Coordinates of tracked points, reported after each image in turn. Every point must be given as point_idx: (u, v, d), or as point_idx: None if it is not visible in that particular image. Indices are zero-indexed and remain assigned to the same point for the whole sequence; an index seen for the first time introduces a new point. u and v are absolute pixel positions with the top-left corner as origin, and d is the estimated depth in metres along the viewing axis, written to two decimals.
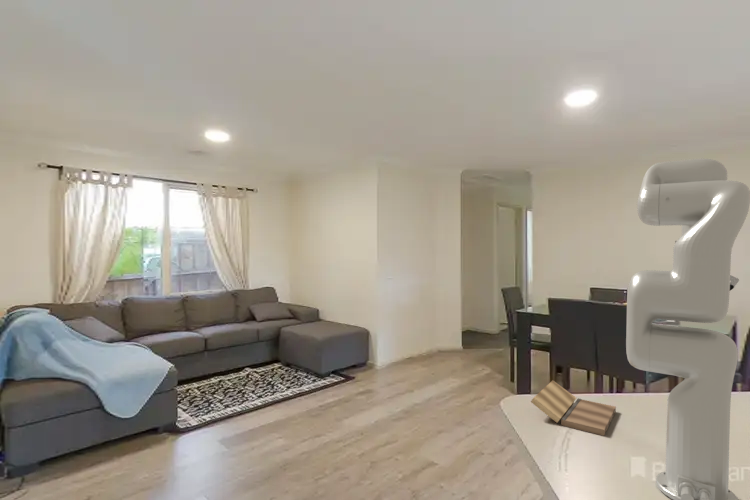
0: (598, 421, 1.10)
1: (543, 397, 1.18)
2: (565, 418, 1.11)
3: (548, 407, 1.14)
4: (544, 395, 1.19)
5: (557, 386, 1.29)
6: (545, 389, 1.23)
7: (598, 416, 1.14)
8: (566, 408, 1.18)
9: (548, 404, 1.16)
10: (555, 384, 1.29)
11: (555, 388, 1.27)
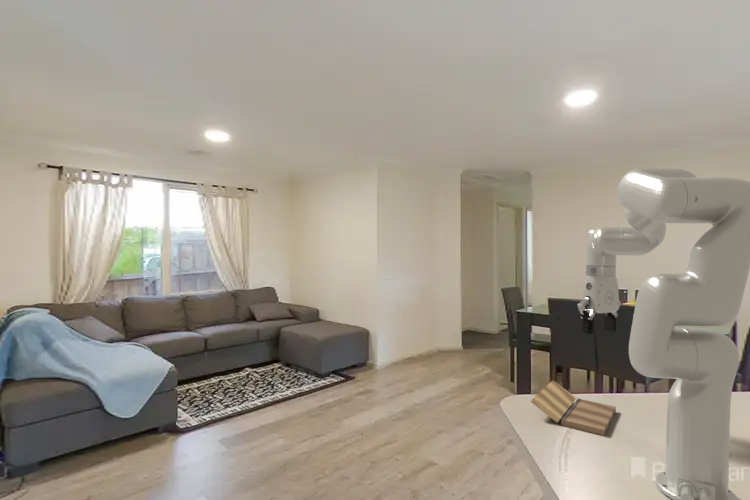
0: (598, 421, 1.10)
1: (543, 397, 1.18)
2: (565, 418, 1.11)
3: (548, 407, 1.14)
4: (544, 395, 1.19)
5: (557, 386, 1.29)
6: (545, 389, 1.23)
7: (598, 416, 1.14)
8: (566, 408, 1.18)
9: (548, 404, 1.16)
10: (555, 384, 1.29)
11: (555, 388, 1.27)
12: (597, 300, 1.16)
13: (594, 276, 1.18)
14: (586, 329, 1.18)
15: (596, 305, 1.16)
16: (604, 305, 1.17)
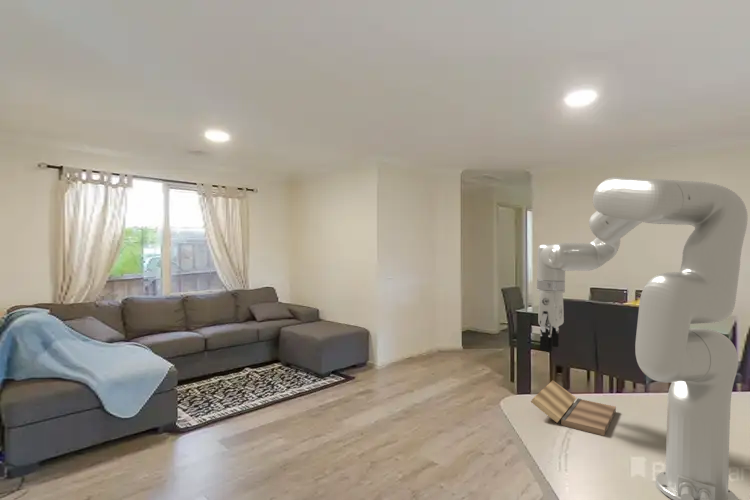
0: (598, 421, 1.10)
1: (543, 397, 1.18)
2: (565, 418, 1.11)
3: (548, 407, 1.14)
4: (544, 395, 1.19)
5: (557, 386, 1.29)
6: (545, 389, 1.23)
7: (598, 416, 1.14)
8: (566, 408, 1.18)
9: (548, 404, 1.16)
10: (555, 384, 1.29)
11: (555, 388, 1.27)
12: (555, 315, 1.17)
13: (549, 291, 1.19)
14: (546, 347, 1.19)
15: (554, 320, 1.17)
16: (558, 319, 1.19)
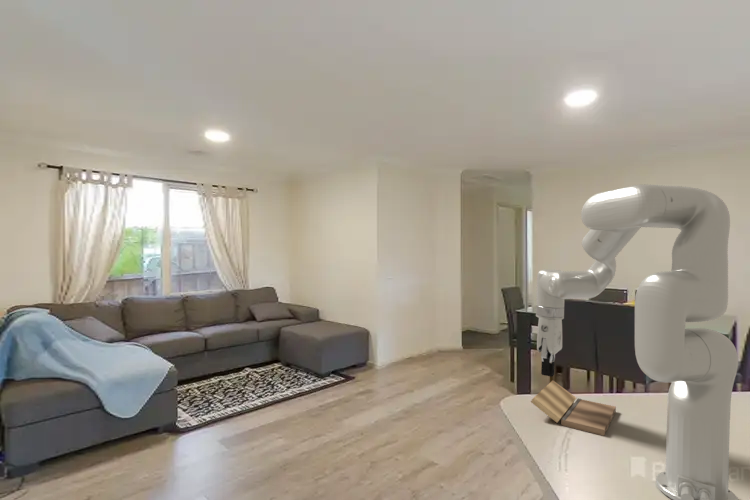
0: (598, 421, 1.10)
1: (543, 397, 1.18)
2: (565, 418, 1.11)
3: (548, 407, 1.14)
4: (544, 395, 1.19)
5: (557, 386, 1.29)
6: (545, 389, 1.23)
7: (598, 416, 1.14)
8: (566, 408, 1.18)
9: (548, 404, 1.16)
10: (555, 384, 1.29)
11: (555, 388, 1.27)
12: (553, 342, 1.17)
13: (549, 318, 1.19)
14: (547, 372, 1.22)
15: (553, 347, 1.17)
16: (557, 346, 1.19)
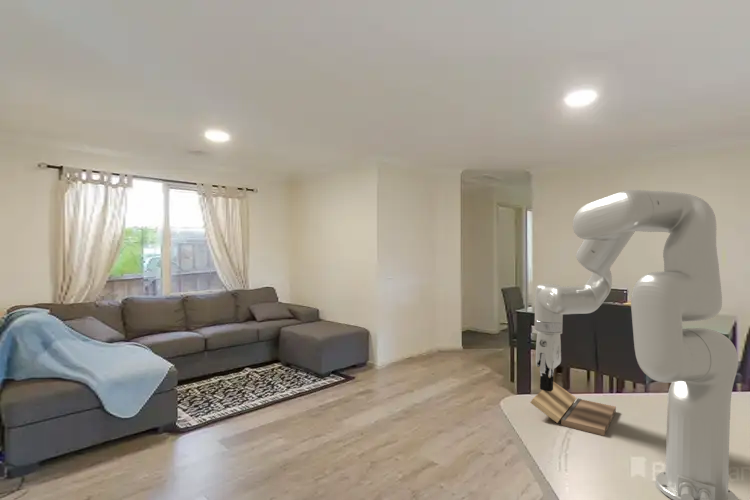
0: (598, 421, 1.10)
1: (543, 398, 1.18)
2: (565, 418, 1.11)
3: (548, 407, 1.14)
4: (544, 395, 1.19)
5: (556, 386, 1.29)
6: (544, 390, 1.23)
7: (598, 416, 1.14)
8: (566, 408, 1.18)
9: (548, 404, 1.16)
10: (554, 385, 1.29)
11: (554, 388, 1.27)
12: (552, 357, 1.18)
13: (547, 333, 1.19)
14: (546, 387, 1.21)
15: (551, 362, 1.17)
16: (555, 361, 1.20)
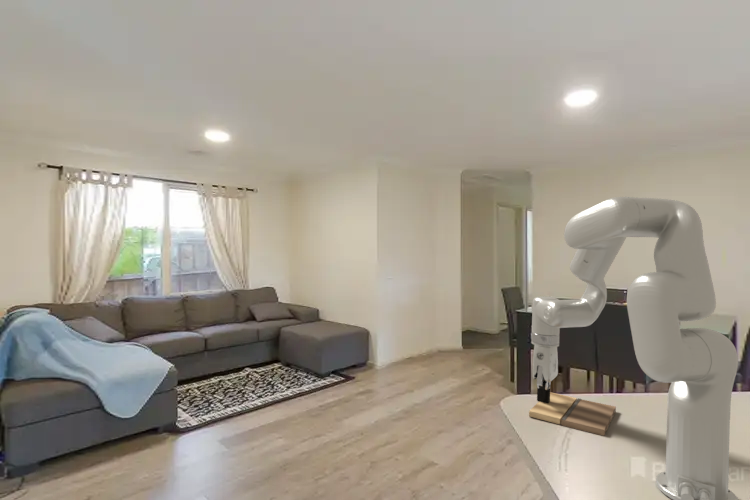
0: (598, 421, 1.10)
1: (540, 408, 1.18)
2: (565, 418, 1.11)
3: (546, 413, 1.14)
4: (541, 405, 1.20)
5: (554, 395, 1.29)
6: None
7: (598, 416, 1.14)
8: (566, 409, 1.18)
9: (546, 411, 1.16)
10: (551, 394, 1.30)
11: (552, 397, 1.27)
12: (549, 370, 1.18)
13: (544, 345, 1.20)
14: (543, 399, 1.22)
15: (548, 375, 1.18)
16: (552, 373, 1.20)
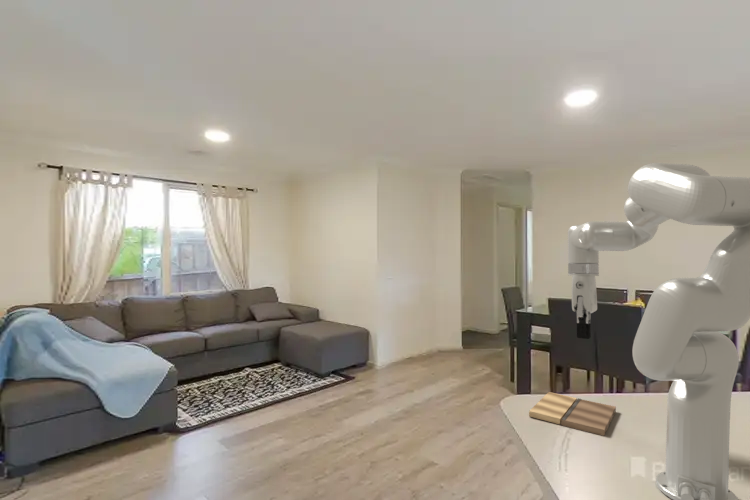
0: (598, 421, 1.10)
1: (540, 408, 1.18)
2: (565, 418, 1.11)
3: (546, 413, 1.14)
4: (541, 405, 1.20)
5: (554, 395, 1.29)
6: (541, 401, 1.23)
7: (598, 416, 1.14)
8: (566, 409, 1.18)
9: (546, 411, 1.16)
10: (551, 394, 1.30)
11: (552, 397, 1.27)
12: (590, 299, 1.10)
13: (583, 274, 1.12)
14: (584, 334, 1.13)
15: (590, 304, 1.10)
16: (593, 304, 1.12)
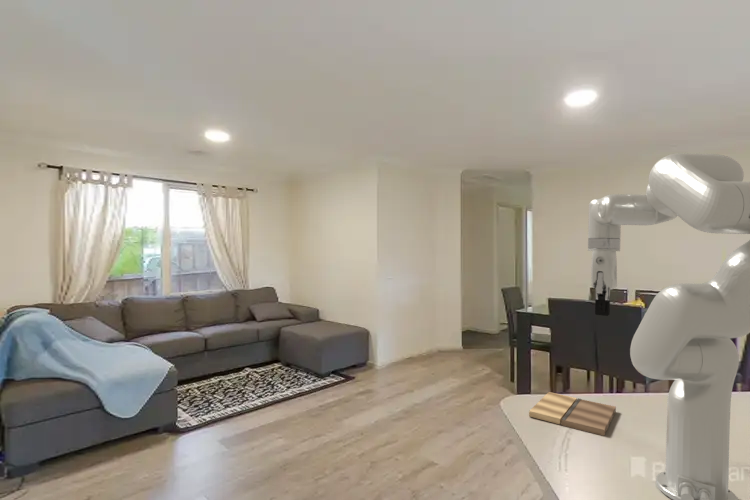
0: (598, 421, 1.10)
1: (540, 408, 1.18)
2: (565, 418, 1.11)
3: (546, 413, 1.14)
4: (541, 405, 1.20)
5: (554, 395, 1.29)
6: (541, 401, 1.23)
7: (598, 416, 1.14)
8: (566, 409, 1.18)
9: (546, 411, 1.16)
10: (551, 394, 1.30)
11: (552, 397, 1.27)
12: (611, 275, 1.06)
13: (604, 249, 1.08)
14: (602, 311, 1.10)
15: (610, 280, 1.06)
16: (614, 280, 1.08)
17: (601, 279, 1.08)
